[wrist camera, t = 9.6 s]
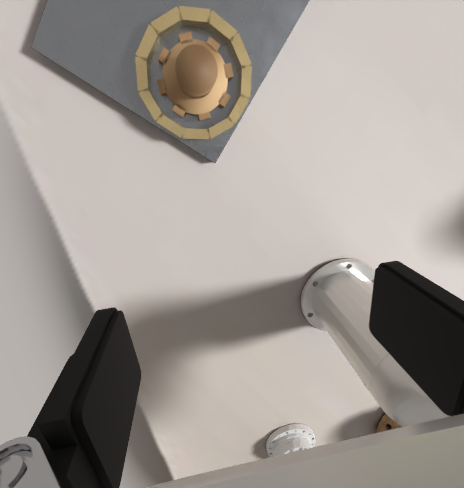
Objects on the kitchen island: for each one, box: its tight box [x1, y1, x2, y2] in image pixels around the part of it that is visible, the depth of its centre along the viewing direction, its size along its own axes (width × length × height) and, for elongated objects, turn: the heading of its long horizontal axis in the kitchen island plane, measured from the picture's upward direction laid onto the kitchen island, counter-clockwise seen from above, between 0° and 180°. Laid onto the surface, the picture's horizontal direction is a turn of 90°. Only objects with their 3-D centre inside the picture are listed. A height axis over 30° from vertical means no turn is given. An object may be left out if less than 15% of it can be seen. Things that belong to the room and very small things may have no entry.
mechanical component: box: [266, 424, 316, 457], centre depth 54 cm, size 10×4×10 cm
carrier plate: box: [31, 0, 309, 163], centre depth 26 cm, size 20×22×4 cm
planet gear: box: [157, 32, 234, 121], centre depth 26 cm, size 8×8×6 cm
